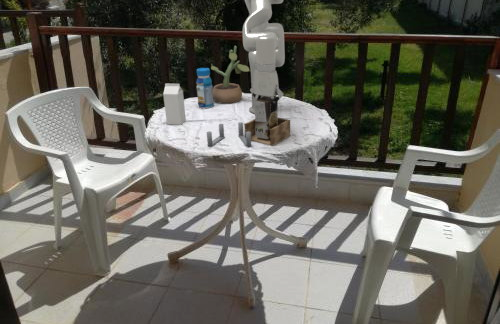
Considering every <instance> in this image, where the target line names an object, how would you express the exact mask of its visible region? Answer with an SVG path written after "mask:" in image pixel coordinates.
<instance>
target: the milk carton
mask: <svg viewBox="0 0 500 324" xmlns="http://www.w3.org/2000/svg"><path fill="white" fill-rule="evenodd" d="M180 85H181V84H180V83H165V84H164V90H163V94H162V95H163V96H162V97H163V102H164V103H163V104H164V111H165V112H164V113H165V120H166V125H178V126H179V125H182V124H183V123H184V122H185V121H186V120H187V118H186V110H185V109H186V108H185V99H184V98H185V97H184V90H183V89H182V87H181V86H180Z"/></svg>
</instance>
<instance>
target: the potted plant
mask: <svg viewBox="0 0 500 324" xmlns="http://www.w3.org/2000/svg"><path fill="white" fill-rule="evenodd" d="M237 48H238V47H237V46H236V45H234V46H233V49H230V50H229V51H228V53H229V54H228V59H230V63H229V64H228V66H227V69H226V70H225V72H223V71H221V70H220V69H219V68H218V67H216V66H214V65H213V63H210V69H211V70H212V71H214V72H216V73H217V74H219V75H221V76H223V81H222V83H219V84H216V85H214V86H213V88H212V90H213V102H216V103H218V104H234V103H237V102H239V101H240V100H241V99H242V97H243V91H242V88H241V86H240V85H239V84H236V83H231V82H230V76H231V74H232V73H231V72H232V71H233V70H235V74H237V75H238V74H242V72H251V69H250V66H247V65H246V64H242V63H241V64H240V60H237V59H238V55H237Z"/></svg>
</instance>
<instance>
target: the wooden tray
mask: <svg viewBox="0 0 500 324" xmlns="http://www.w3.org/2000/svg"><path fill="white" fill-rule="evenodd" d="M243 126H244V136H245V138H246V132H248V131H250V132H251V142H255V143H257V144H258V143H260V144H263V145H267V146H271V147H272V146H274V145H276V144H278V143H280V142H282V141H284V140H285V139H287V138H289V137H290V136H291V119H286V118H281V117H278V125H277V126H276V127H274V128H272V129H270V138H269V139H264V138H259V137H256V136H255V118H254V119H252V120H250V121H248V122H245V123H244V124H243Z"/></svg>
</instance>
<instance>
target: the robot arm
mask: <svg viewBox="0 0 500 324" xmlns="http://www.w3.org/2000/svg"><path fill="white" fill-rule="evenodd" d="M244 2H245V5H246V9H247V10H248V13H249V15H248V17H247V18H246V19H245V21H244V23H243V25H242V44H243V48H244V50H245V51H246V52H248V62H249V70H250V82H251V85H250V86H251V88H250V89H249V91H250V93H251V106H249V109H248V110H249V112H250V113H252V114H255V100H257V99H259V98H261V97H263V96H266V97H270V98H271V100H272V103H271V112H275V111H276V110H277V102H278V103H279V100H280V99H281V98H282V97H283V96H284V92H283V91H282V90H281V89H280V88H279V77H278V73H277V70H276V68H277V67H278V68H280V67H282V66H283V65H284V64H285V59H286V58H285V57H286V55H285V54H286V53H285V52H286V51H285V32H284V31H285V30H284V27H283V25H282V24H281V23H277V22H272V23H269V20H271V18H272V15H273V11H272V5H275V4H276V5H278V4H282V3H283V2H284V0H244ZM273 96H274V97H273Z"/></svg>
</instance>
